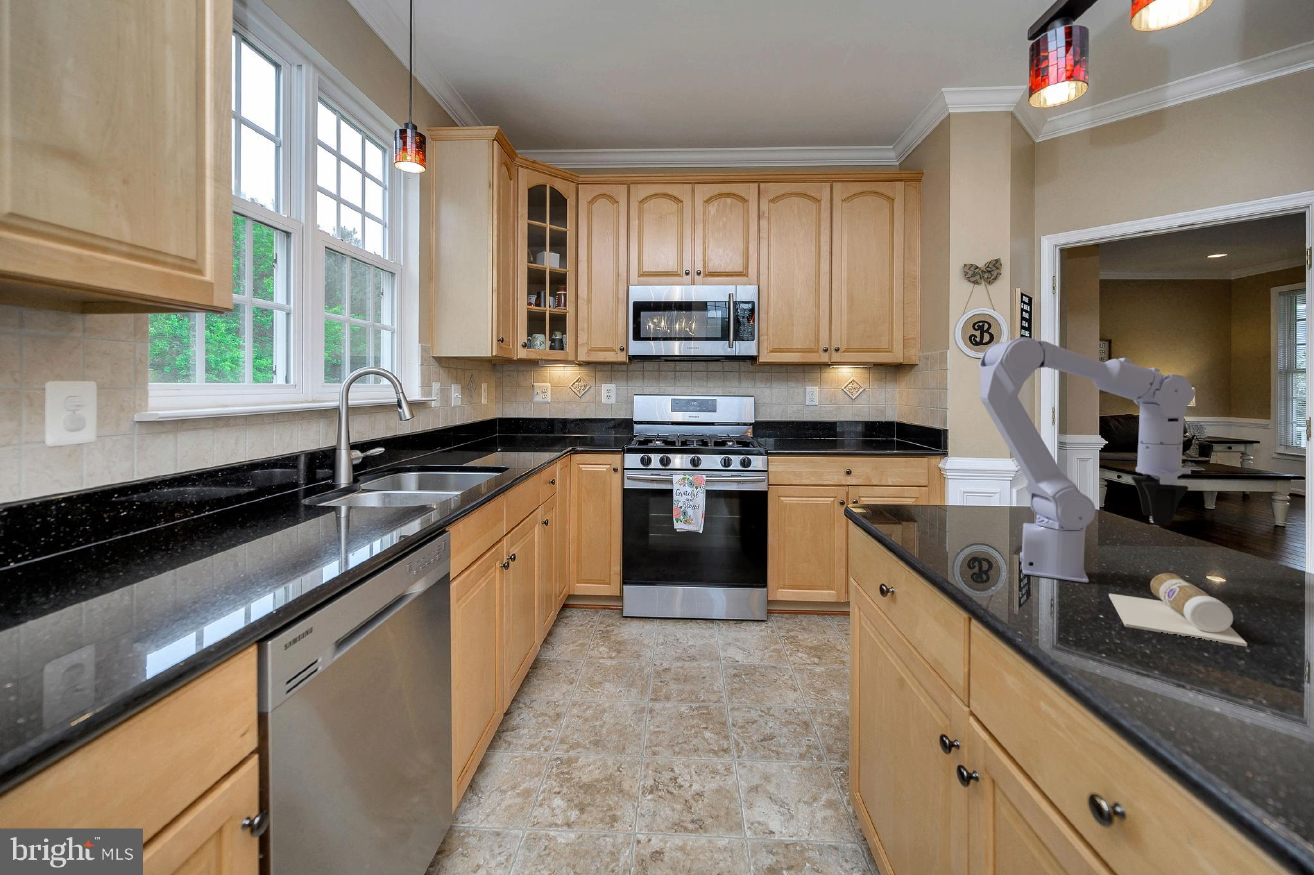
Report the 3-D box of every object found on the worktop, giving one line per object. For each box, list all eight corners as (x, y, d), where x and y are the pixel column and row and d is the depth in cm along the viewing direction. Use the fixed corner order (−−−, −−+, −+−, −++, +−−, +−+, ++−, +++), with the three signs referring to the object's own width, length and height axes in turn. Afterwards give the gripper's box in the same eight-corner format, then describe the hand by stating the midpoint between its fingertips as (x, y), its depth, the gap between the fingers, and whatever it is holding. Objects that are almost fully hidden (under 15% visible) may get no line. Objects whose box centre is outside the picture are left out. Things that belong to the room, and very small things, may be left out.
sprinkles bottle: (1153, 568, 86) (1194, 595, 74) (1190, 576, 84) (1238, 605, 72) (1145, 596, 86) (1185, 627, 74) (1182, 604, 85) (1229, 638, 72)
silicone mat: (1125, 626, 76) (1125, 623, 76) (1109, 595, 88) (1109, 593, 88) (1246, 646, 70) (1247, 643, 70) (1211, 610, 82) (1211, 607, 82)
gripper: (1204, 447, 87) (1200, 531, 88) (1179, 441, 99) (1176, 514, 100) (1146, 446, 91) (1142, 526, 92) (1129, 440, 103) (1126, 510, 104)
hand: (1156, 519), depth 96 cm, fingers open, 7 cm apart
